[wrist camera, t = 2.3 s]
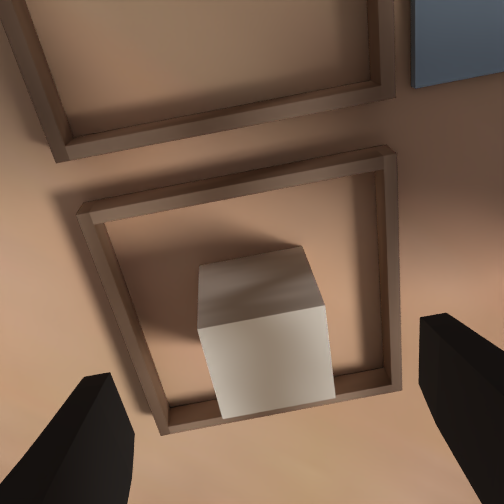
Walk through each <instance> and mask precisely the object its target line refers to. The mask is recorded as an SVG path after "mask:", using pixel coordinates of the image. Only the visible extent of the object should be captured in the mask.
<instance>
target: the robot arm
mask: <svg viewBox="0 0 504 504" xmlns="http://www.w3.org/2000/svg"><path fill="white" fill-rule="evenodd" d="M419 385H420V388H421V390H422V393H423V395H424V398H425V400H426V402H427V405H428V407H429V409H430V412H431V414H432V416H433V418H434V421H435V423H436V425H437V427H438V428H439V430H440V432H441V434H442V436H443V437H444V439H445V441H446V443H447V444H448V446H449V448H450V450H451V451H452V453H453V455H454V457H455V458H456V460H457V462H458V463H459V465H460V467H461V469H462V470H463V472H464V474H465V475H466V477H467V479H468V481H469V482H470V484H471V486H472V488H473V489H474V491H475V493H476V494H477V496H478V498H479V500H480V501H481V503H482V504H504V351H503V350H501V349H500V348H498V347H497V346H495V345H494V344H492V343H491V342H489V341H488V340H486V339H485V338H483V337H482V336H480V335H479V334H477V333H476V332H474V331H473V330H471V329H470V328H469V327H467V326H466V325H464V324H463V323H461V322H460V321H458V320H457V319H455V318H454V317H452V316H451V315H449V314H447V313H442V314H436V315H430V316H425V317H420V336H419ZM134 437H135V433H134V431H133V428H132V426H131V423H130V421H129V418H128V416H127V413H126V411H125V408H124V406H123V403H122V401H121V398H120V396H119V393H118V391H117V388H116V386H115V383H114V381H113V378H112V376H111V373H110V372H109V373H103V374H97V375H92V376H86V377H84V378H83V379H82V380H81V381H80V383H79V384H78V385H77V387H76V388H75V389H74V391H73V392H72V393H71V395H70V396H69V397H68V399H67V400H66V401H65V403H64V404H63V405H62V407H61V408H60V409H59V411H58V412H57V413H56V415H55V416H54V417H53V419H52V420H51V421H50V423H49V424H48V425H47V427H46V428H45V429H44V430H43V432H42V433H41V434H40V436H39V437H38V438H37V439H36V441H35V442H34V443H33V445H32V446H31V447H30V448H29V450H28V451H27V452H26V454H25V455H24V456H23V457H22V459H21V460H20V461H19V462H18V463H17V465H16V466H15V467H14V468H13V469H12V470H11V472H10V473H9V474H8V475H7V476H6V478H5V479H4V480H3V481H2V482H1V484H0V504H127V502H128V497H129V491H130V485H131V480H132V470H133V456H134Z"/></svg>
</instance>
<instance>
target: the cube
mask: <svg viewBox="0 0 504 504" xmlns="http://www.w3.org/2000/svg"><path fill="white" fill-rule="evenodd" d="M197 330H198V334H199V337H200V341H201V344H202V348H203V351H204V355H205V358H206V362H207V365H208V369H209V373H210V376H211V380H212V383H213V387H214V390H215V394H216V397H217V401H218V404H219V408H220V411H221V415H222V418H223V419H227V418H232V417H237V416H242V415H248V414H253V413H258V412H264V411H269V410H274V409H280V408H285V407H290V406H296V405H301V404H306V403H312V402H317V401H322V400H328V399H333V398H336V396H335V387H334V379H333V370H332V361H331V353H330V344H329V335H328V326H327V318H326V309H325V304H324V301H323V299H322V296H321V293H320V291H319V288H318V286H317V283H316V280H315V278H314V275H313V273H312V270H311V267H310V265H309V262H308V260H307V257H306V254H305V252H304V249H303V247H302V246H300V247H295V248H289V249H284V250H279V251H274V252H268V253H263V254H258V255H253V256H247V257H242V258H237V259H232V260H226V261H221V262H216V263H211V264H205V265H200V266H199V285H198V319H197Z"/></svg>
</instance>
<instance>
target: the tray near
mask: <svg viewBox="0 0 504 504" xmlns="http://www.w3.org/2000/svg"><path fill="white" fill-rule="evenodd" d="M367 17H368V39H369V61H370V81H365V82H360V83H354V84H349V85H344V86H339V87H334V88H328V89H323V90H318V91H313V92H308V93H302V94H297V95H292V96H287V97H282V98H277V99H271V100H266V101H261V102H256V103H251V104H245V105H240V106H235V107H230V108H225V109H220V110H214V111H209V112H204V113H199V114H194V115H188V116H183V117H178V118H173V119H168V120H162V121H157V122H152V123H147V124H142V125H137V126H131V127H126V128H121V129H116V130H111V131H105V132H100V133H95V134H90V135H85V136H79V137H73V134H72V132H71V129H70V126H69V123H68V120H67V118H66V115H65V112H64V109H63V106H62V104H61V101H60V98H59V95H58V92H57V89H56V87H55V84H54V81H53V78H52V75H51V73H50V70H49V67H48V64H47V61H46V59H45V56H44V53H43V50H42V47H41V44H40V42H39V39H38V36H37V33H36V30H35V28H34V25H33V22H32V19H31V16H30V14H29V11H28V8H27V5H26V2H25V0H0V19H1V22H2V24H3V27H4V29H5V32H6V35H7V37H8V40H9V42H10V45H11V48H12V50H13V53H14V55H15V58H16V61H17V63H18V66H19V68H20V71H21V74H22V76H23V79H24V81H25V84H26V87H27V89H28V92H29V94H30V97H31V100H32V102H33V105H34V107H35V110H36V113H37V115H38V118H39V120H40V123H41V126H42V128H43V131H44V133H45V136H46V139H47V141H48V144H49V146H50V149H51V152H52V154H53V157H54V159H55V162H56V163H60V162H65V161H70V160H76V159H81V158H86V157H91V156H96V155H102V154H107V153H112V152H117V151H122V150H128V149H133V148H138V147H143V146H148V145H154V144H159V143H164V142H169V141H174V140H180V139H185V138H190V137H195V136H200V135H206V134H211V133H216V132H221V131H226V130H232V129H237V128H242V127H247V126H252V125H258V124H263V123H268V122H273V121H278V120H283V119H289V118H294V117H299V116H304V115H309V114H315V113H320V112H325V111H330V110H335V109H341V108H346V107H351V106H356V105H361V104H367V103H372V102H377V101H382V100H387V99H393V98H396V79H395V33H394V0H367Z"/></svg>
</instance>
